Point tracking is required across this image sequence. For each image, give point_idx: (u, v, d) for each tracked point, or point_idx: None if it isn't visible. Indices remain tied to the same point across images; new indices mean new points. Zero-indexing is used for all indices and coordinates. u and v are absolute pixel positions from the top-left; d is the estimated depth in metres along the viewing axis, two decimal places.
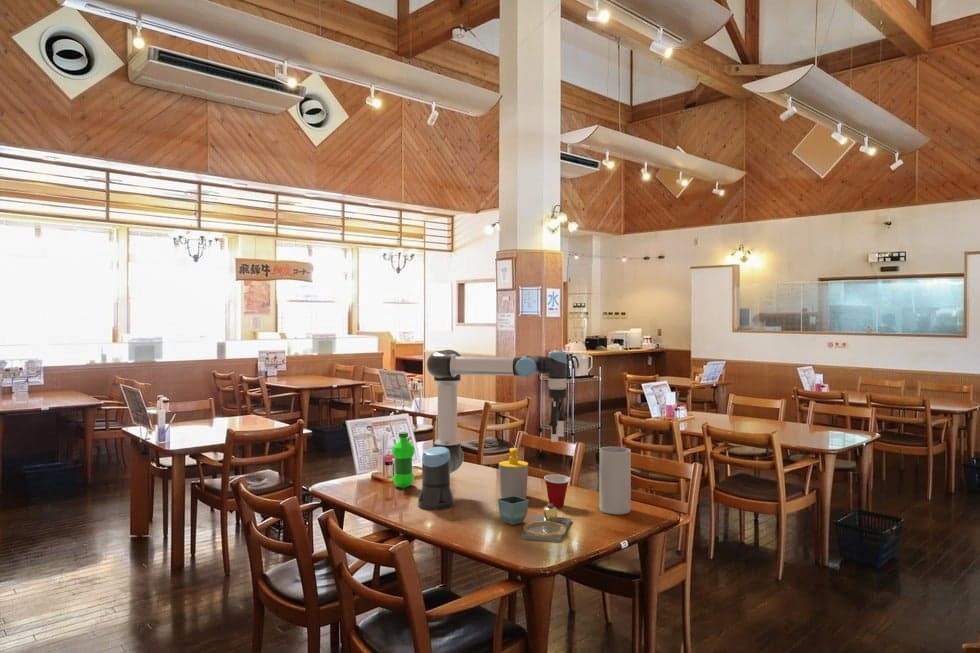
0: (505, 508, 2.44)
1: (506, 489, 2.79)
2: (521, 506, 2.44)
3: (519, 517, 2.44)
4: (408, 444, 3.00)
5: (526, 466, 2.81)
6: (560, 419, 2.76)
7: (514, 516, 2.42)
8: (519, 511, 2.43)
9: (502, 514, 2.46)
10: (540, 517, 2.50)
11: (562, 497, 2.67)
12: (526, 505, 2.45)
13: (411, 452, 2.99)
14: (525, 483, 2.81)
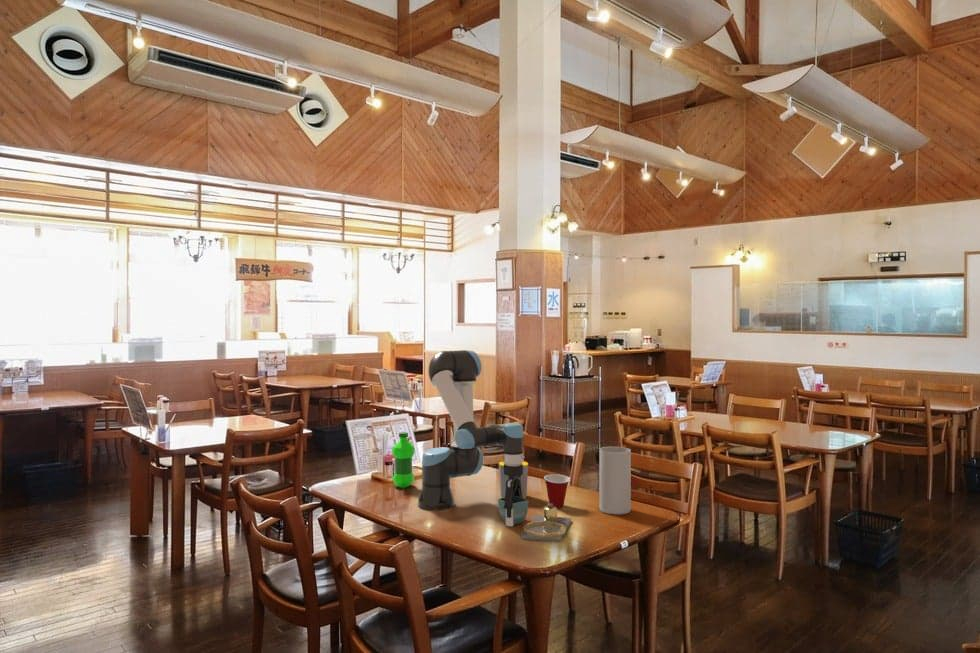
0: None
1: None
2: (521, 506, 2.44)
3: (519, 517, 2.44)
4: (408, 444, 3.00)
5: (526, 466, 2.81)
6: None
7: (514, 516, 2.42)
8: (519, 511, 2.43)
9: (502, 514, 2.46)
10: (540, 517, 2.50)
11: (562, 497, 2.67)
12: (526, 504, 2.45)
13: (411, 452, 2.99)
14: (525, 483, 2.81)
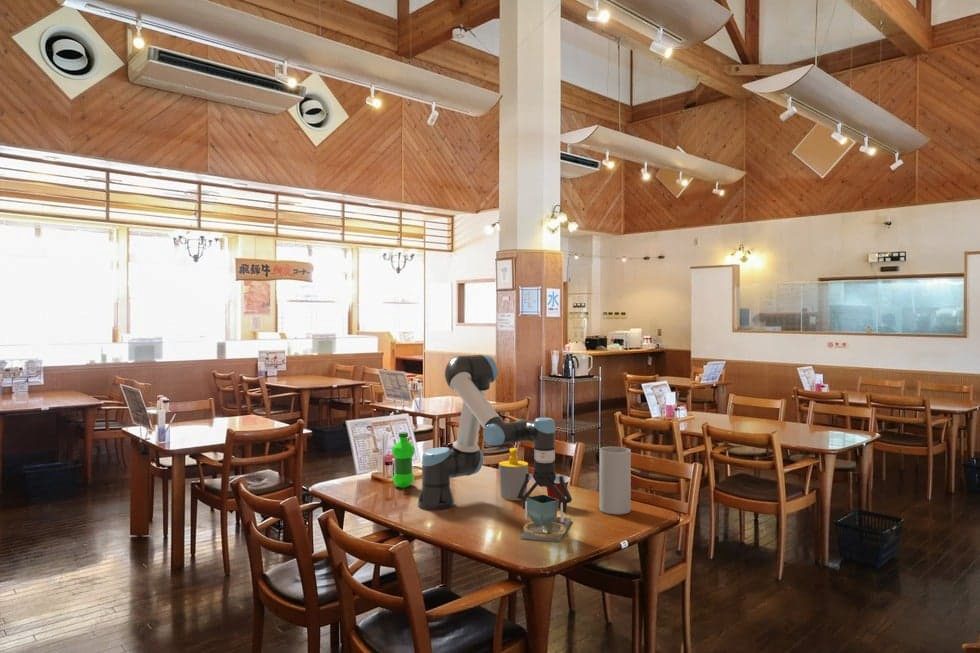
0: None
1: (506, 489, 2.79)
2: (535, 505, 2.31)
3: (535, 516, 2.32)
4: (408, 444, 3.00)
5: (526, 466, 2.81)
6: None
7: (529, 512, 2.34)
8: (533, 510, 2.32)
9: None
10: None
11: None
12: (539, 506, 2.30)
13: (411, 452, 2.99)
14: None
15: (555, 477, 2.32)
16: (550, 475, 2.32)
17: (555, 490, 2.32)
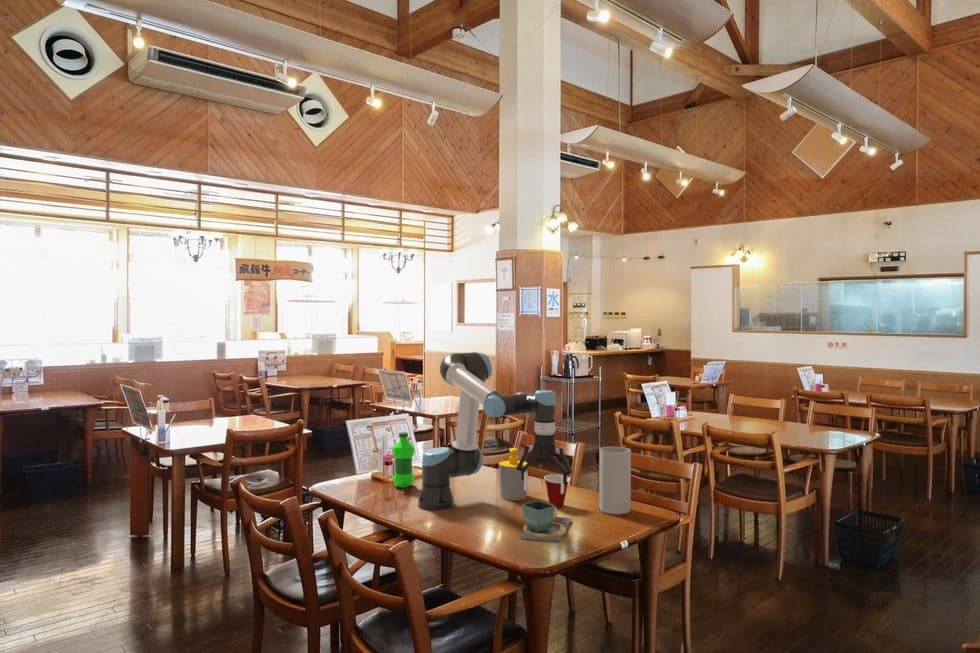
0: None
1: (506, 489, 2.79)
2: (531, 512, 2.32)
3: (531, 523, 2.32)
4: (408, 444, 3.00)
5: None
6: None
7: (525, 519, 2.34)
8: (529, 516, 2.32)
9: None
10: None
11: (562, 497, 2.67)
12: (535, 513, 2.30)
13: (411, 452, 2.99)
14: None
15: (555, 449, 2.32)
16: (550, 447, 2.32)
17: (555, 462, 2.32)
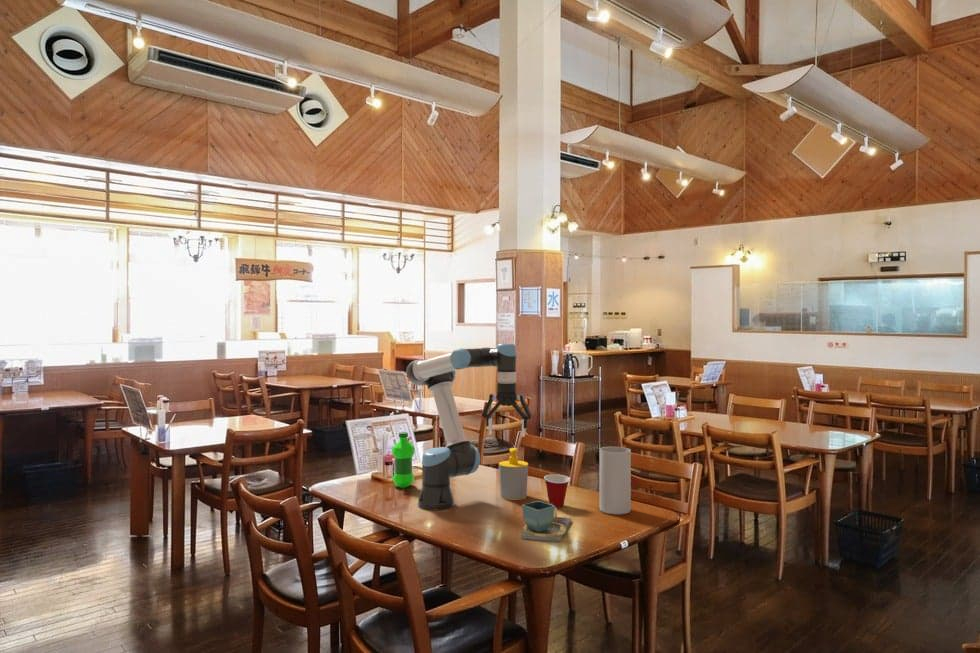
0: None
1: (506, 489, 2.79)
2: (531, 512, 2.32)
3: (531, 523, 2.32)
4: (408, 444, 3.00)
5: (526, 466, 2.81)
6: None
7: (525, 519, 2.34)
8: (529, 517, 2.32)
9: None
10: None
11: (562, 497, 2.67)
12: (535, 513, 2.30)
13: (411, 452, 2.99)
14: (525, 483, 2.81)
15: (516, 396, 2.55)
16: (511, 395, 2.55)
17: (516, 408, 2.54)
